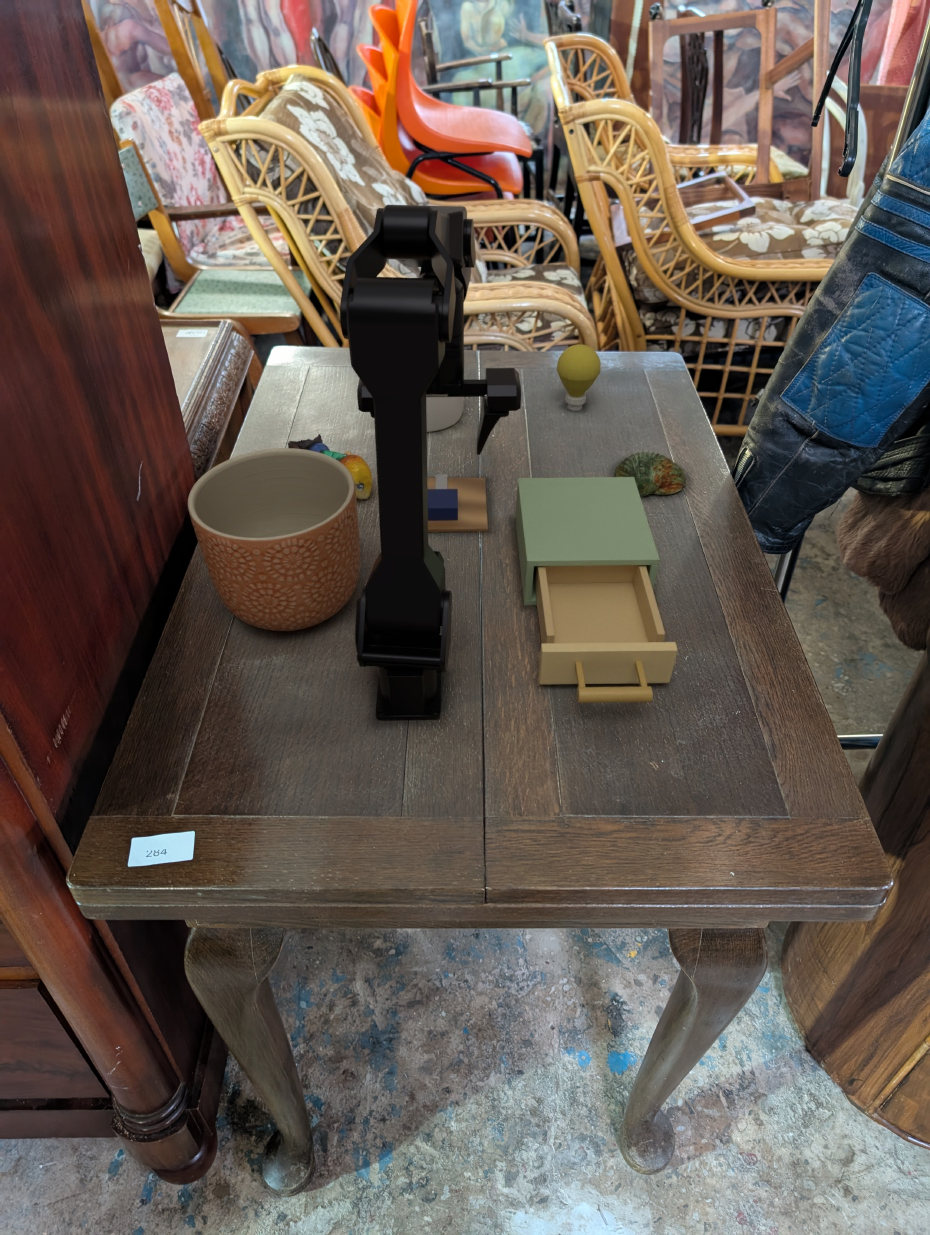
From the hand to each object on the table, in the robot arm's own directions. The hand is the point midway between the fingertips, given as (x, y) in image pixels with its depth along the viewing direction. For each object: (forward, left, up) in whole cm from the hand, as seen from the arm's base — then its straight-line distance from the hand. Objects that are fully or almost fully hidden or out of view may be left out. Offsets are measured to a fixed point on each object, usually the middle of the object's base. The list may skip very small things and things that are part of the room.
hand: (441, 453), depth 98 cm
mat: (+2, 0, -9) cm, 10 cm away
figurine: (+7, +15, -10) cm, 19 cm away
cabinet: (-10, -17, -9) cm, 22 cm away
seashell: (+8, -29, -10) cm, 32 cm away
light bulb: (+29, -21, -10) cm, 37 cm away
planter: (-17, +17, -10) cm, 26 cm away
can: (+27, +3, -10) cm, 29 cm away
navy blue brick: (+3, 0, -9) cm, 9 cm away
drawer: (-26, -17, -9) cm, 32 cm away
